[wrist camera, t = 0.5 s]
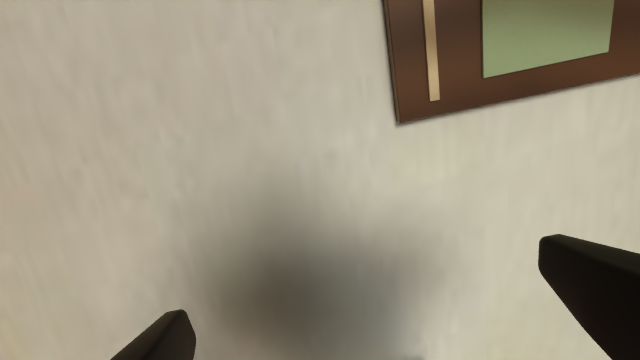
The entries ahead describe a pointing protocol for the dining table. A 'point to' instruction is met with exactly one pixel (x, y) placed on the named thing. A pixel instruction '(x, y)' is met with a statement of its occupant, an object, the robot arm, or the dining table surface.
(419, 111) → the brown and green board
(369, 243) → the dining table surface
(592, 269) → the robot arm
